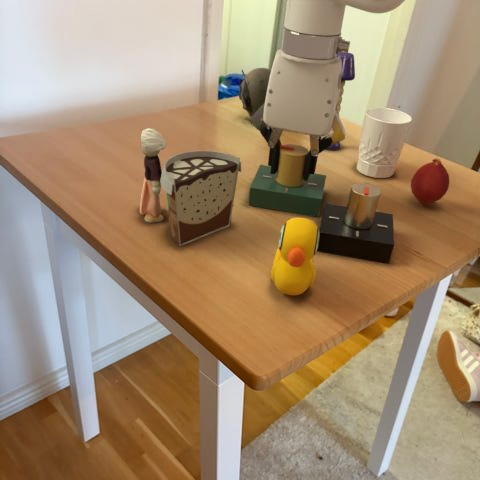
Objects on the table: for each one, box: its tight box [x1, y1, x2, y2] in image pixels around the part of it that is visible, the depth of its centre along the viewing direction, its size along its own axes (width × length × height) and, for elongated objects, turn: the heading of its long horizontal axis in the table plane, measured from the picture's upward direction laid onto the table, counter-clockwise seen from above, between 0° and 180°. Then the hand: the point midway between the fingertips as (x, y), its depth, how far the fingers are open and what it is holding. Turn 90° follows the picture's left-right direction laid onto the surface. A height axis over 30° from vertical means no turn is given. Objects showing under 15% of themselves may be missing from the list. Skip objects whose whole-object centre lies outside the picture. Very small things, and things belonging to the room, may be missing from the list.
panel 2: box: [316, 202, 395, 264], centre depth 75 cm, size 10×9×3 cm
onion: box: [410, 157, 450, 206], centre depth 85 cm, size 6×6×8 cm
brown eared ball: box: [238, 67, 271, 118], centre depth 109 cm, size 10×12×10 cm
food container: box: [160, 150, 243, 248], centre depth 72 cm, size 12×6×10 cm, turn 134°
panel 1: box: [247, 164, 327, 218], centre depth 84 cm, size 11×9×3 cm
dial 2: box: [344, 182, 382, 229], centre depth 72 cm, size 4×4×5 cm
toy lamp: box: [321, 52, 356, 151], centre depth 99 cm, size 5×5×17 cm
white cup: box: [356, 107, 413, 179], centre depth 93 cm, size 8×8×10 cm
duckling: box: [270, 217, 320, 296], centre depth 62 cm, size 11×5×10 cm, turn 171°
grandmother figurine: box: [139, 127, 167, 224], centre depth 73 cm, size 8×4×13 cm, turn 22°
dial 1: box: [276, 143, 309, 187], centre depth 81 cm, size 4×4×5 cm
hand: (290, 172), depth 82 cm, fingers closed on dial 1, 4 cm apart
